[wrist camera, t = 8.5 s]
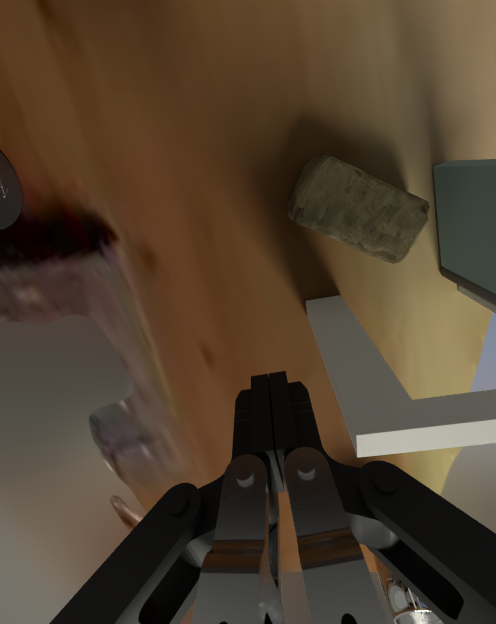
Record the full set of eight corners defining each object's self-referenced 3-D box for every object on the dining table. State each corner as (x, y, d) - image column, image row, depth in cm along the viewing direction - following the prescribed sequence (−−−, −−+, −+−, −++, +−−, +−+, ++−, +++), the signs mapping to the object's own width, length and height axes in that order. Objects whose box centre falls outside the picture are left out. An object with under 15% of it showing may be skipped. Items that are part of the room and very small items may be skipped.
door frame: (307, 315, 33) (357, 457, 17) (305, 301, 32) (356, 435, 16) (472, 288, 30) (711, 419, 14) (475, 271, 30) (734, 391, 14)
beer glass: (349, 495, 49) (384, 616, 36) (387, 483, 47) (438, 606, 34) (364, 513, 52) (402, 632, 39) (401, 503, 50) (453, 624, 37)
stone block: (380, 254, 29) (403, 269, 25) (281, 214, 28) (285, 223, 23) (414, 199, 27) (445, 205, 22) (306, 152, 25) (317, 148, 21)
